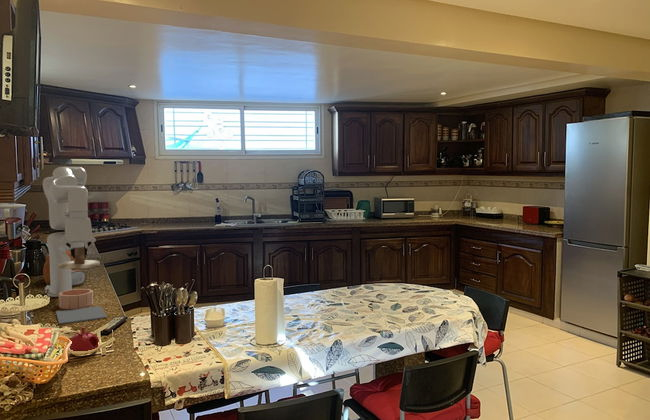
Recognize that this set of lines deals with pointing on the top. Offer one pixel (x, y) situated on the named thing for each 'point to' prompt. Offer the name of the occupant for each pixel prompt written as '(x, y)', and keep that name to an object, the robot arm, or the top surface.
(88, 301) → the bowl
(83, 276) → the tin
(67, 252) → the bread
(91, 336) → the pomegranate
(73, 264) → the lid
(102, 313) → the mat
